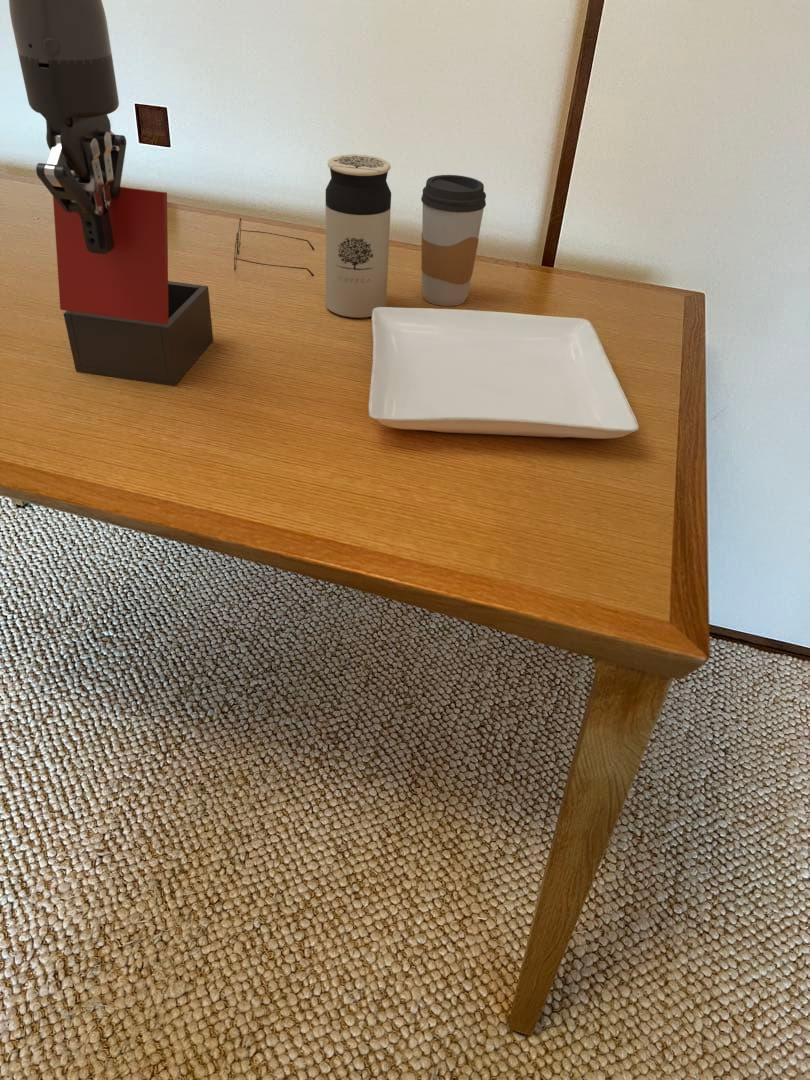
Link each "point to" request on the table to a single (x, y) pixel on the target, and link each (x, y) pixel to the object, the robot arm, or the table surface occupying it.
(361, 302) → the travel mug
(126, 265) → the box lid
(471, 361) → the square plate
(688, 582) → the table surface
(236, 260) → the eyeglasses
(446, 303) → the coffee cup
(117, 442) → the table surface
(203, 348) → the open box
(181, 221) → the table surface
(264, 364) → the table surface
